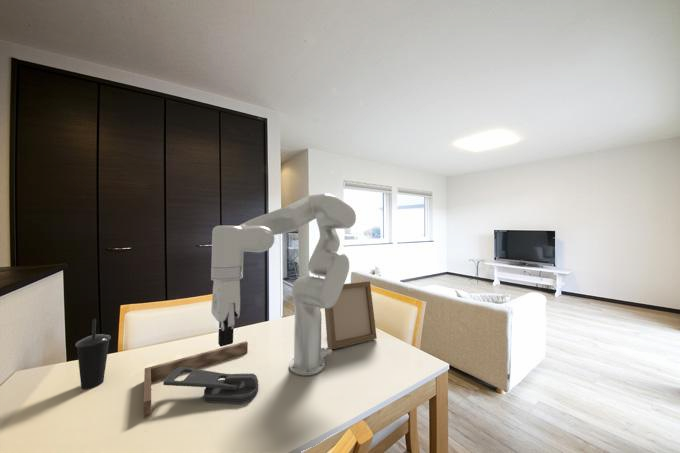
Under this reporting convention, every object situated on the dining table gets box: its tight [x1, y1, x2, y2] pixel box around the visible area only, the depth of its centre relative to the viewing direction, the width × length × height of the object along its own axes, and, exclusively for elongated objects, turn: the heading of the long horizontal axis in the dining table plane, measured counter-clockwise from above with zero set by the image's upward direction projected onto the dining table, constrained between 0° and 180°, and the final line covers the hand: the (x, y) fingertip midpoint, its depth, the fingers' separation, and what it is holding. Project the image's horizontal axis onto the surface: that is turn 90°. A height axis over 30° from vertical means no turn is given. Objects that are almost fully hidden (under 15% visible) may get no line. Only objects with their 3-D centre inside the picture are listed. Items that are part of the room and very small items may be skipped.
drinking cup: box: [75, 318, 112, 390], centre depth 75 cm, size 8×8×20 cm
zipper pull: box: [163, 366, 259, 405], centre depth 71 cm, size 9×7×25 cm
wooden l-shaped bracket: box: [143, 341, 249, 419], centre depth 79 cm, size 32×19×4 cm, turn 128°
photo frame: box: [324, 280, 378, 350], centre depth 109 cm, size 15×22×25 cm
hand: (225, 343), depth 63 cm, fingers closed
